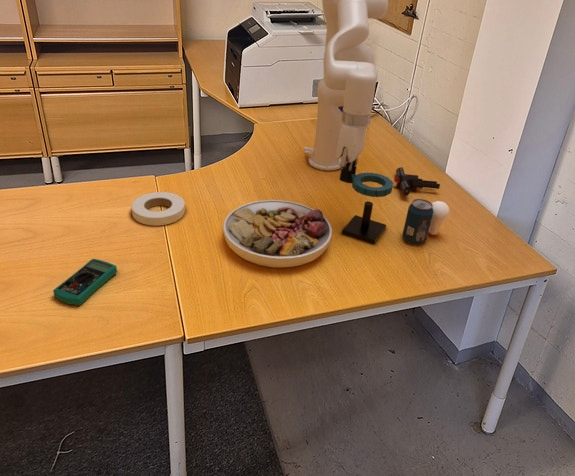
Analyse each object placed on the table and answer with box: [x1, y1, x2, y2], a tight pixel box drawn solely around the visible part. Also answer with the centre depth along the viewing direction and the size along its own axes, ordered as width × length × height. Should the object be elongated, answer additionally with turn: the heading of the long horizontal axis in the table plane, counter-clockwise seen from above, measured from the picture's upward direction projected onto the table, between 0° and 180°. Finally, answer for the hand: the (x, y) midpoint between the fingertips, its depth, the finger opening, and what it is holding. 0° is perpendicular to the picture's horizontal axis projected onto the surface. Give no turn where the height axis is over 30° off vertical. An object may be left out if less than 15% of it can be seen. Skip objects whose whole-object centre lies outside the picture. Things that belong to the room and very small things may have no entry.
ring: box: [339, 172, 394, 198], centre depth 145 cm, size 15×11×2 cm
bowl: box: [222, 199, 333, 268], centre depth 144 cm, size 30×30×8 cm
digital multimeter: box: [52, 258, 118, 306], centre depth 124 cm, size 7×15×3 cm, turn 159°
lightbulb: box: [428, 200, 450, 236], centre depth 151 cm, size 6×6×11 cm
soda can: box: [402, 198, 433, 246], centre depth 148 cm, size 7×7×12 cm
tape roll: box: [131, 191, 186, 227], centre depth 154 cm, size 16×15×3 cm
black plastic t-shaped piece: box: [393, 166, 441, 197], centre depth 177 cm, size 5×20×15 cm
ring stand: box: [341, 200, 387, 245], centre depth 151 cm, size 10×10×10 cm
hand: (347, 179), depth 147 cm, fingers closed on ring, 2 cm apart
